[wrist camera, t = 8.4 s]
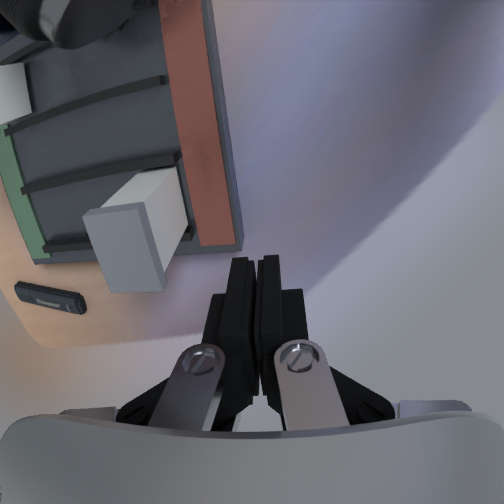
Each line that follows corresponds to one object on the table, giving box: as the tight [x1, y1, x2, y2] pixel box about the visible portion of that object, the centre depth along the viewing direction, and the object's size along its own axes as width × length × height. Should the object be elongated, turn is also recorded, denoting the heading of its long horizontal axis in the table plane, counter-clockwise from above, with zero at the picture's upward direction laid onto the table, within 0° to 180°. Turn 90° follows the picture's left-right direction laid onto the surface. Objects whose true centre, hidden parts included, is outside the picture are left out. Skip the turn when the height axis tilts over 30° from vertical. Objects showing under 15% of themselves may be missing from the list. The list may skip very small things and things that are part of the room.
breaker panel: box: [0, 0, 244, 265], centre depth 19 cm, size 19×19×3 cm
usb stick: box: [14, 281, 87, 315], centre depth 29 cm, size 10×3×2 cm, turn 86°
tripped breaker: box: [82, 166, 188, 293], centre depth 17 cm, size 3×4×7 cm
